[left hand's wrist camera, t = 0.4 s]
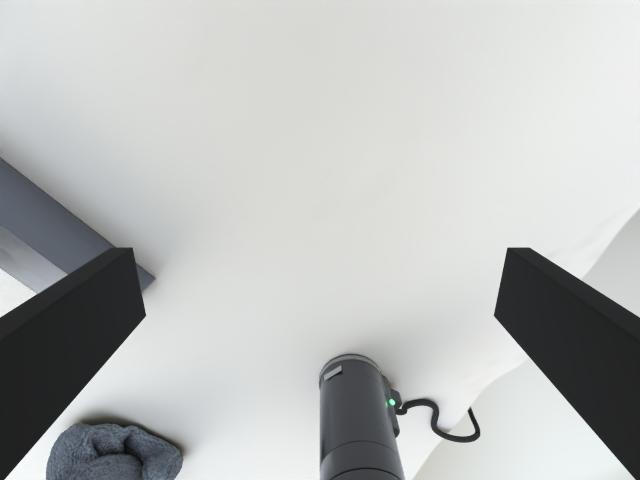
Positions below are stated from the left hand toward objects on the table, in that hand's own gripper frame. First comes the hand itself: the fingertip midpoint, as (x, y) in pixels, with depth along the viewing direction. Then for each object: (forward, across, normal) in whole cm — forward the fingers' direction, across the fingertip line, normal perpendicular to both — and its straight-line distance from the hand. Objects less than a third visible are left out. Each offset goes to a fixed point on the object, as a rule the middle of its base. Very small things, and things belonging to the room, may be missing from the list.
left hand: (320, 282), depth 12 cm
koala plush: (+30, -33, -46) cm, 65 cm away
